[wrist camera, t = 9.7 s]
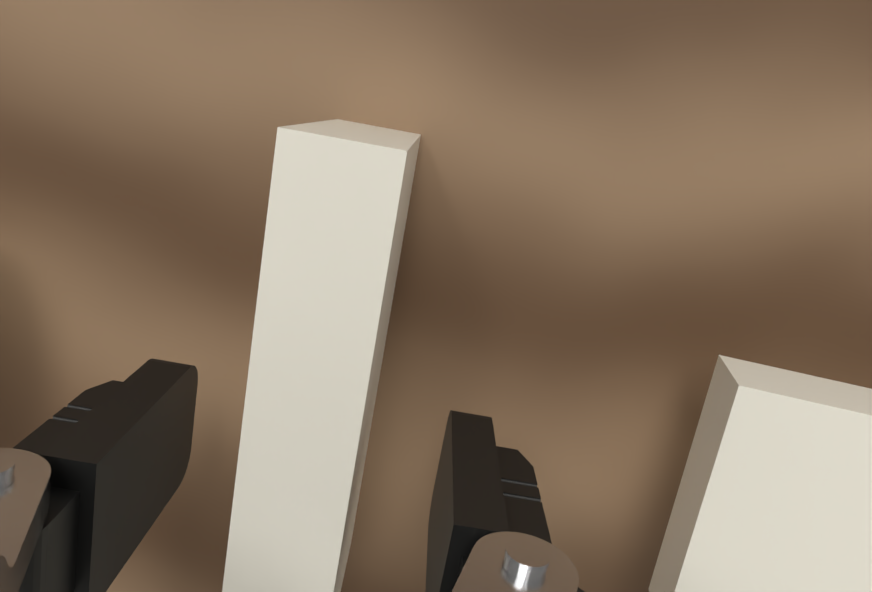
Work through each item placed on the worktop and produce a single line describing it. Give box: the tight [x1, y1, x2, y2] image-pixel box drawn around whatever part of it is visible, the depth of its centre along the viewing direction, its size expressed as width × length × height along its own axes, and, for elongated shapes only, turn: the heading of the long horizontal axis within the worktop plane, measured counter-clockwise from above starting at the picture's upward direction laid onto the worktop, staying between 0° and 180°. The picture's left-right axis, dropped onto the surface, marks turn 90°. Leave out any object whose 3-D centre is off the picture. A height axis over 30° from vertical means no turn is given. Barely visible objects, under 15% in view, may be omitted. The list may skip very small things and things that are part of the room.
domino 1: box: [222, 119, 421, 592], centre depth 12 cm, size 2×5×9 cm
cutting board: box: [0, 0, 872, 592], centre depth 15 cm, size 20×27×2 cm
